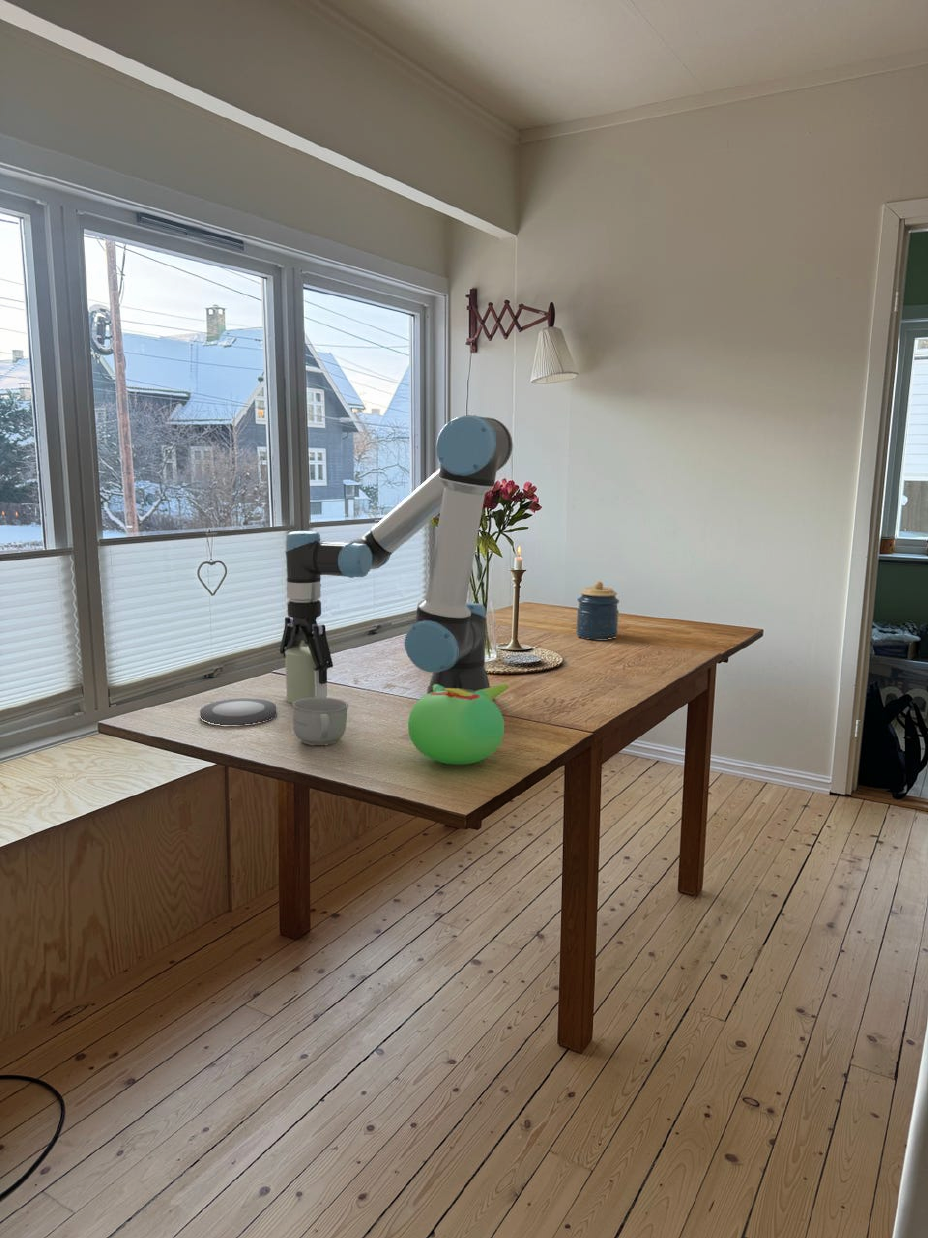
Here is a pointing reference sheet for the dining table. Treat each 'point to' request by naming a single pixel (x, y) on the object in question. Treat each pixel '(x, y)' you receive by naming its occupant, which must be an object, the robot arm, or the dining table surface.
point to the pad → (238, 711)
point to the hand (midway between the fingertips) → (306, 690)
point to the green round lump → (457, 724)
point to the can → (300, 674)
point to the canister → (597, 613)
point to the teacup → (319, 720)
